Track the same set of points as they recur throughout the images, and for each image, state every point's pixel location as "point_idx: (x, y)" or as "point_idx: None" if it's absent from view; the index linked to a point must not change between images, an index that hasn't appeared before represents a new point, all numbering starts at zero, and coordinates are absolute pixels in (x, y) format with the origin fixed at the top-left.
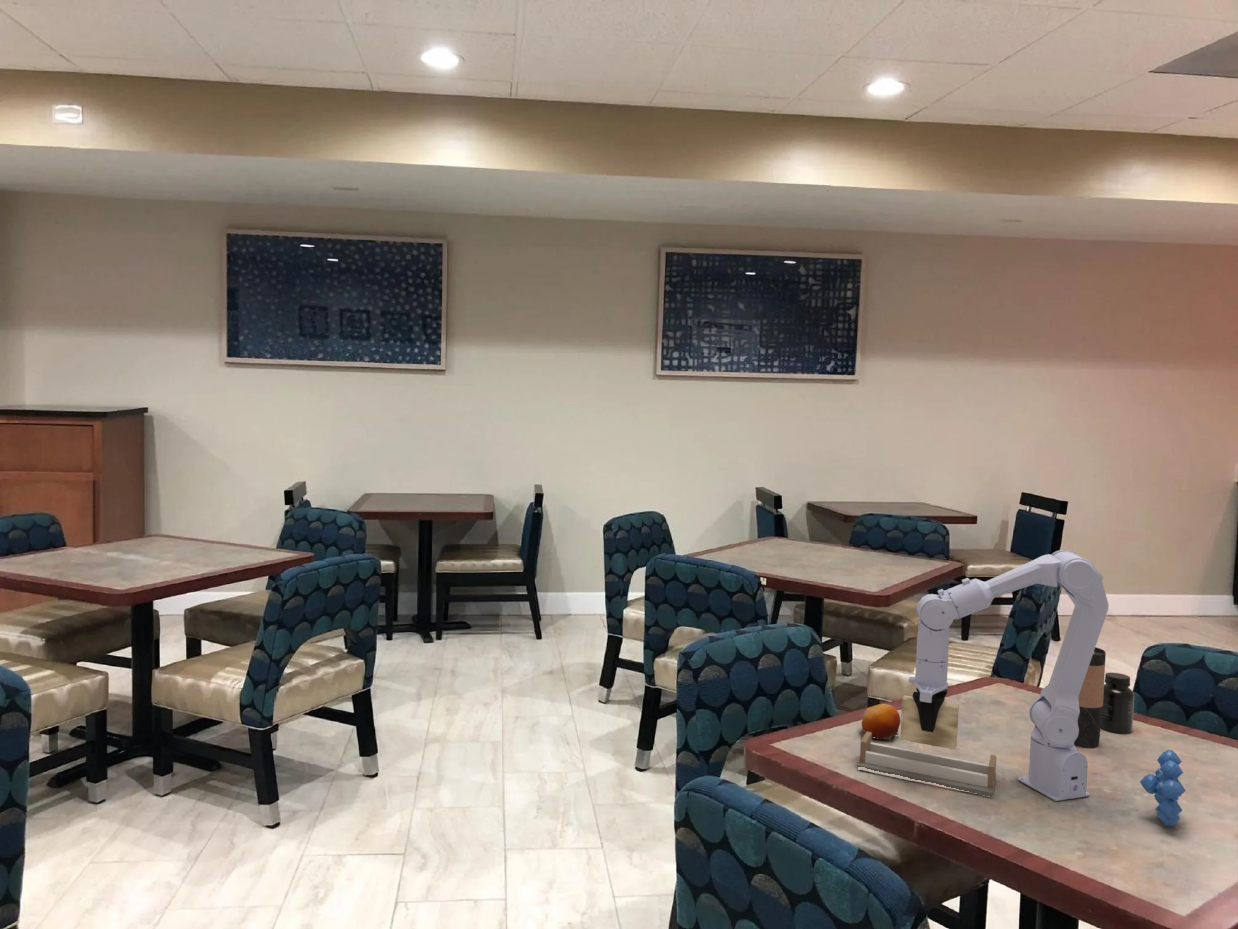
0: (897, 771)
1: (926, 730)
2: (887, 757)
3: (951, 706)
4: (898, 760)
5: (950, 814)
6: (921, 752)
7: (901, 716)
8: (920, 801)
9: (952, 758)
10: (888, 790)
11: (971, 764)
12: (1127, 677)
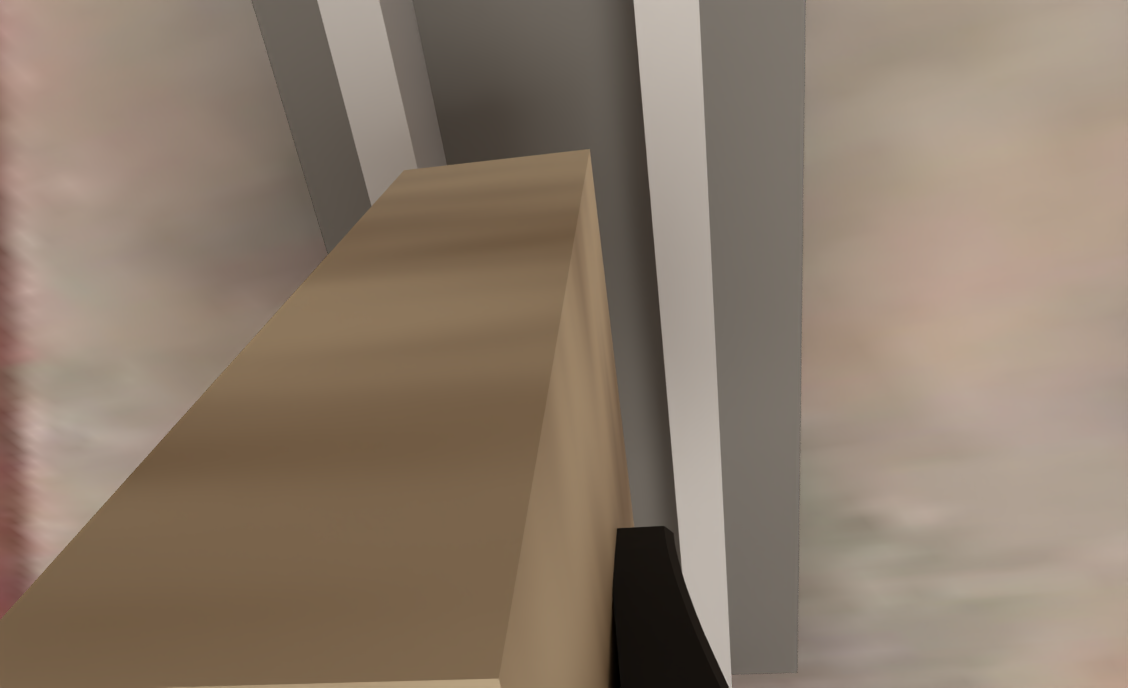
0: (329, 119)
1: None
2: (319, 6)
3: None
4: (355, 131)
5: (79, 523)
6: (692, 284)
7: (266, 333)
8: (83, 360)
9: (703, 521)
10: (42, 123)
11: None
12: None
